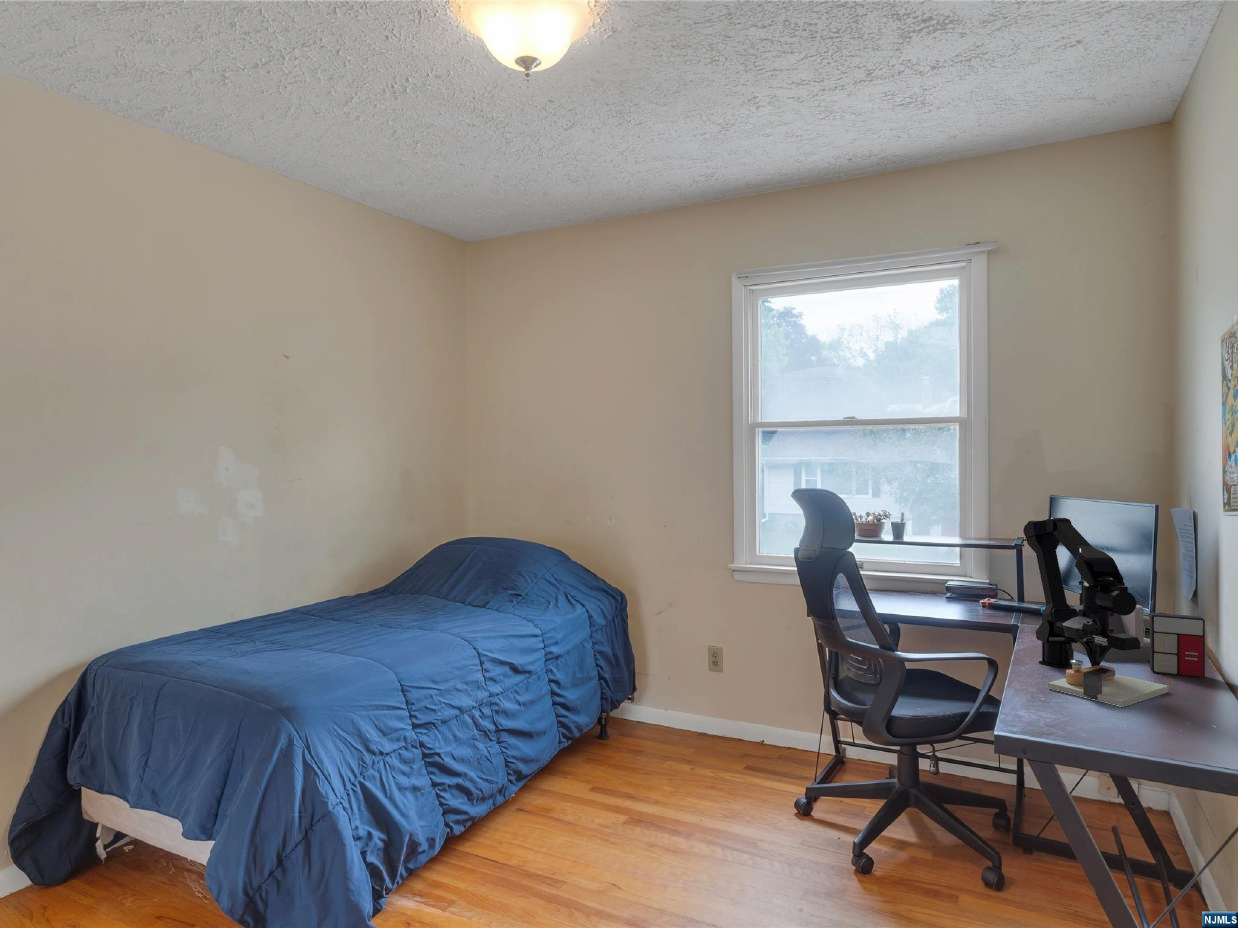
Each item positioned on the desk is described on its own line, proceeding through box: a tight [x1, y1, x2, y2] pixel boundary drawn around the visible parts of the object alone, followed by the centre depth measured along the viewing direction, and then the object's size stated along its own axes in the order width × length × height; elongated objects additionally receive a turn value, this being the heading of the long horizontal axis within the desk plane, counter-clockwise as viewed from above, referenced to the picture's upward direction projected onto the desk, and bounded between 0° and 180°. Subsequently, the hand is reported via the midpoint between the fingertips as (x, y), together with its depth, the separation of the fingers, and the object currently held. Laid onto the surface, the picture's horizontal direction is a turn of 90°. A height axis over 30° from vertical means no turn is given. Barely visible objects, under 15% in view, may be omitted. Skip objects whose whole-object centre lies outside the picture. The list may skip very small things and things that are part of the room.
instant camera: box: [1072, 604, 1150, 662], centre depth 213 cm, size 21×21×15 cm
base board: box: [1047, 673, 1169, 708], centre depth 176 cm, size 16×22×2 cm
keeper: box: [1070, 659, 1116, 700], centre depth 173 cm, size 8×8×7 cm
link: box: [1065, 664, 1115, 685], centre depth 178 cm, size 14×4×2 cm, turn 115°
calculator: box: [1149, 612, 1206, 679], centre depth 190 cm, size 11×4×15 cm, turn 62°
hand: (1094, 669), depth 183 cm, fingers closed
